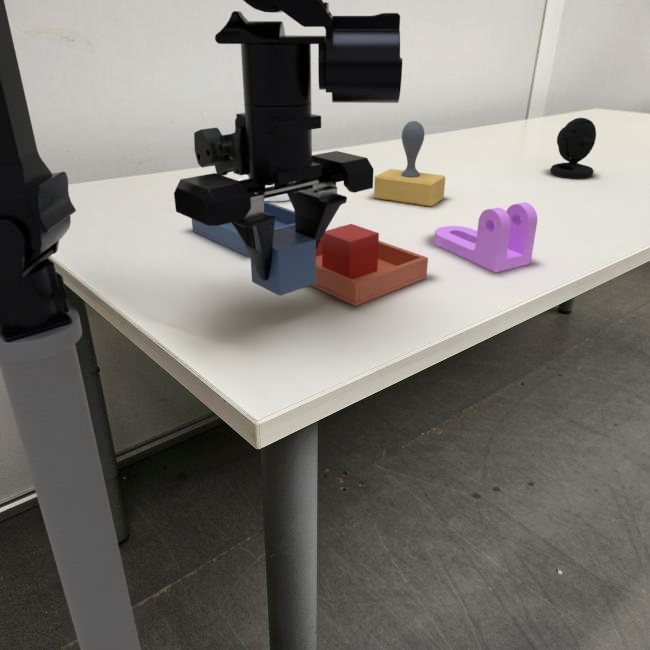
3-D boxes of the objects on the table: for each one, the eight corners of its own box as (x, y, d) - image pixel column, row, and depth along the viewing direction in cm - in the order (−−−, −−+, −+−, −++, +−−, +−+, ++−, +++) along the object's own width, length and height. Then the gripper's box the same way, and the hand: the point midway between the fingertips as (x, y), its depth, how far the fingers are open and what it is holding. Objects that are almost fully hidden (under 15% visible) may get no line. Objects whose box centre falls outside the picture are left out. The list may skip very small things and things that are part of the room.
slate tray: (248, 256, 75) (246, 237, 74) (192, 231, 84) (190, 213, 83) (317, 237, 82) (316, 218, 80) (258, 215, 90) (258, 198, 89)
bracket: (530, 263, 73) (539, 206, 70) (495, 272, 70) (503, 214, 67) (457, 233, 83) (463, 182, 80) (425, 240, 80) (429, 187, 77)
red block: (349, 280, 67) (349, 241, 65) (322, 269, 70) (321, 231, 68) (377, 270, 70) (379, 232, 68) (350, 260, 73) (351, 223, 71)
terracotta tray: (355, 306, 62) (355, 283, 61) (276, 270, 71) (275, 249, 70) (426, 278, 69) (428, 257, 68) (346, 248, 78) (347, 229, 77)
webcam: (571, 167, 118) (581, 113, 113) (602, 176, 112) (614, 119, 107) (540, 172, 115) (549, 116, 110) (570, 180, 109) (581, 122, 104)
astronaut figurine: (269, 181, 108) (269, 164, 107) (308, 196, 99) (308, 178, 98) (225, 189, 103) (224, 171, 102) (262, 205, 95) (261, 186, 93)
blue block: (279, 296, 57) (278, 250, 55) (251, 281, 60) (248, 238, 58) (316, 283, 59) (316, 239, 57) (287, 270, 62) (286, 228, 60)
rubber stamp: (444, 198, 98) (451, 121, 93) (431, 207, 94) (437, 126, 89) (388, 190, 103) (391, 116, 97) (373, 198, 98) (375, 121, 93)
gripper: (302, 86, 63) (304, 232, 70) (132, 102, 52) (156, 273, 59) (380, 96, 55) (374, 258, 62) (201, 118, 44) (218, 311, 51)
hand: (283, 272), depth 59 cm, fingers closed on blue block, 4 cm apart
